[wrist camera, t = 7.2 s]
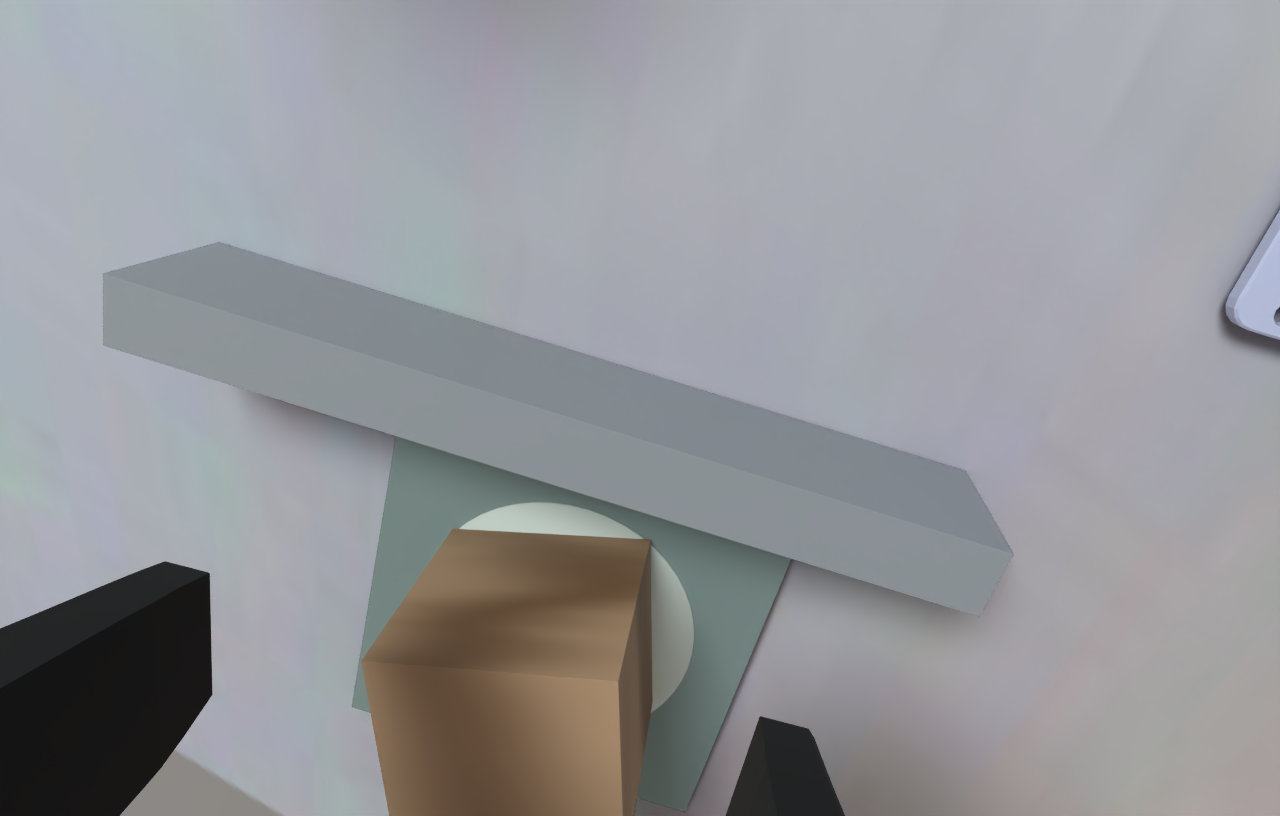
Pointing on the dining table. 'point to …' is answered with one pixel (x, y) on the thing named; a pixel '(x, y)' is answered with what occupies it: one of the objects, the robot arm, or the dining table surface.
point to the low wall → (563, 419)
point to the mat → (680, 556)
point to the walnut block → (516, 678)
